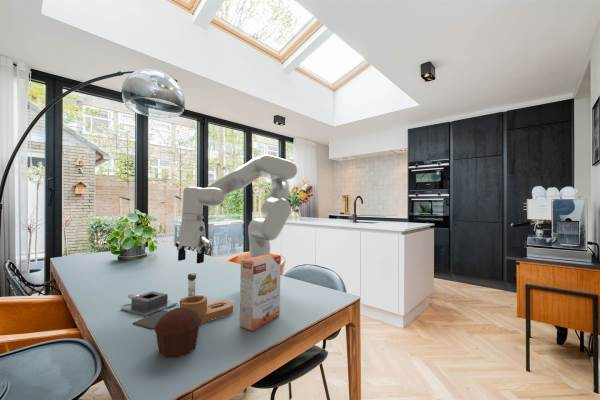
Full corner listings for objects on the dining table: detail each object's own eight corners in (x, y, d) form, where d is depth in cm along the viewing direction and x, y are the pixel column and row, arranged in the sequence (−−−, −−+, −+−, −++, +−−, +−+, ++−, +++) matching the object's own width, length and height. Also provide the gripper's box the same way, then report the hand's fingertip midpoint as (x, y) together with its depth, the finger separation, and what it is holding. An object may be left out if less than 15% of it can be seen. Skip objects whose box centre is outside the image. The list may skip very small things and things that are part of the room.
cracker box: (253, 332, 79) (254, 261, 79) (238, 327, 82) (239, 259, 83) (281, 316, 91) (281, 254, 91) (267, 312, 94) (267, 252, 95)
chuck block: (177, 304, 100) (177, 293, 100) (147, 316, 89) (148, 304, 89) (144, 297, 107) (144, 287, 107) (113, 308, 96) (113, 296, 96)
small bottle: (197, 299, 106) (197, 274, 106) (191, 301, 103) (191, 275, 103) (191, 298, 107) (192, 273, 107) (185, 300, 104) (185, 274, 105)
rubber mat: (182, 315, 90) (182, 314, 90) (152, 329, 80) (152, 328, 80) (163, 311, 94) (163, 310, 94) (132, 323, 84) (132, 322, 84)
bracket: (185, 329, 81) (185, 306, 81) (175, 320, 87) (176, 299, 87) (237, 312, 94) (237, 293, 94) (225, 306, 100) (226, 287, 100)
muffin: (167, 337, 76) (168, 301, 76) (206, 337, 76) (207, 302, 76) (144, 362, 64) (144, 320, 64) (190, 362, 64) (191, 320, 64)
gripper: (216, 218, 106) (214, 262, 105) (183, 217, 113) (182, 257, 112) (202, 219, 99) (200, 265, 98) (168, 217, 106) (166, 260, 105)
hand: (190, 261), depth 105 cm, fingers open, 9 cm apart
